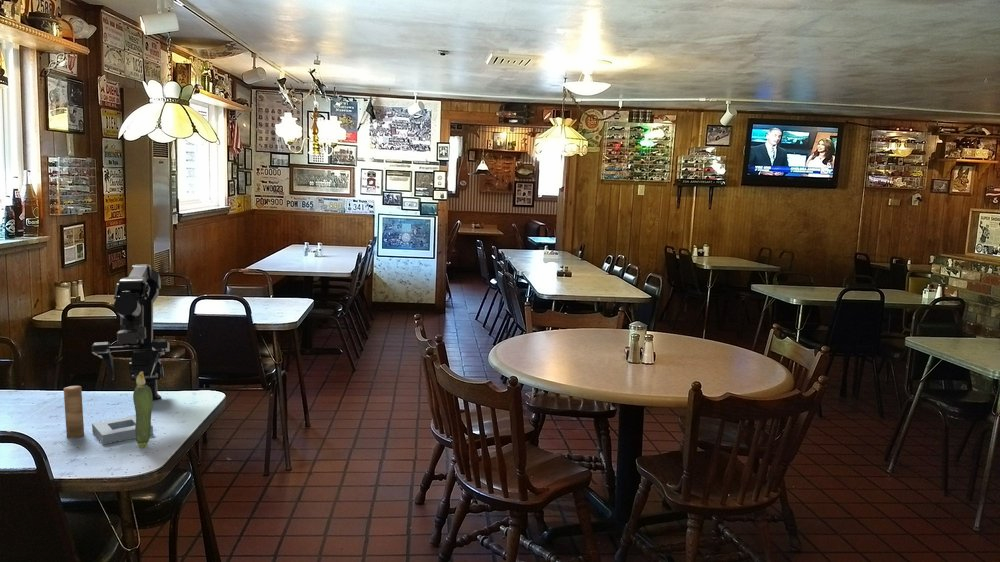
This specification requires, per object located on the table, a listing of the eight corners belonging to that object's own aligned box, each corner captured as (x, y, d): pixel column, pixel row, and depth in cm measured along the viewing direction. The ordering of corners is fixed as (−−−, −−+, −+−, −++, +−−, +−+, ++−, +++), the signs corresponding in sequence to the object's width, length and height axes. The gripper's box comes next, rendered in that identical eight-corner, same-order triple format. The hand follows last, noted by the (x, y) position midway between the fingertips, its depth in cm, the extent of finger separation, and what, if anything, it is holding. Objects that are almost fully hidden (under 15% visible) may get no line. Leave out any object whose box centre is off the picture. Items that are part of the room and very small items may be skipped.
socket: (92, 432, 191) (91, 423, 191) (140, 423, 199) (140, 414, 198) (102, 444, 182) (102, 435, 182) (153, 434, 190) (152, 425, 189)
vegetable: (136, 444, 182) (133, 368, 180) (155, 442, 184) (151, 367, 181) (134, 450, 178) (130, 373, 176) (153, 448, 180) (150, 371, 177)
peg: (65, 434, 188) (62, 387, 187) (82, 431, 191) (79, 384, 189) (68, 439, 185) (65, 390, 184) (85, 435, 188) (82, 388, 186)
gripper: (87, 318, 188) (86, 377, 185) (164, 315, 194) (164, 372, 191) (96, 326, 198) (95, 382, 195) (169, 323, 204) (169, 377, 201)
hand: (131, 378), depth 195 cm, fingers open, 9 cm apart
